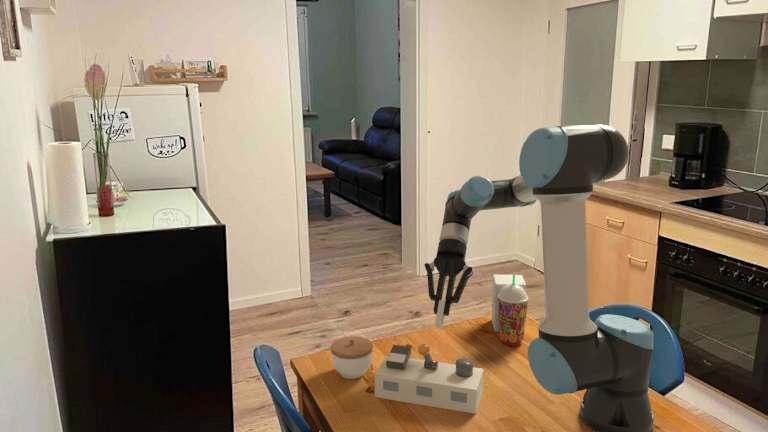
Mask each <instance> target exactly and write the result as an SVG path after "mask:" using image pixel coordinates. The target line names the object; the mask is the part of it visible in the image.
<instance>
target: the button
mask: <svg viewBox="0 0 768 432" xmlns="http://www.w3.org/2000/svg"><path fill="white" fill-rule="evenodd" d="M455 365H456V375H458V376H460V377H470V376H472V375H473V367H474V361H473V360H472V359H470V358H464V357H461V358H458V359H456V361H455Z"/></svg>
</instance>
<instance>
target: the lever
mask: <svg viewBox="0 0 768 432" xmlns="http://www.w3.org/2000/svg"><path fill="white" fill-rule="evenodd" d="M430 351H431V349H430V347H429V345H428V344H427V343H421V344H420V345H418V348H417V352H418V353H419V355H421V356H422V357H423V360H425V362H424V367H425V368H431V369H437V368H438V362H439V361H436V360H433V358H432V356H431V354H430Z"/></svg>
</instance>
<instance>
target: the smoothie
mask: <svg viewBox="0 0 768 432" xmlns="http://www.w3.org/2000/svg"><path fill="white" fill-rule="evenodd" d="M512 275H513V281H512V284H508V285H506V286H504V287H503V288H502V289H501V291H500V293H499V294H498V316H499V331H498V338H499V340H500V343H502V344H503V345H506V346H508V347H511V346H512V347H515V346H520V345H521V344H522V341H523V340H524V338H525V337H524V336H525V327H526V321H527V320H526V319H527V310H528V303H529V296H528V294H527V291H526V292H525V290H524V289H523V288H522V287H521V286H520V285H517V284H515V275H516V274H512Z"/></svg>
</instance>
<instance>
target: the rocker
mask: <svg viewBox="0 0 768 432" xmlns="http://www.w3.org/2000/svg"><path fill="white" fill-rule="evenodd" d="M411 354H412V346H405V345H401V344H400V345H399V344H393V345H392V348H391V350H390V351H389V354H388V355H389V356H388V358H387V360H386V367H389V368H395V369H402V370H404V369H405V367H406V364H407V362H408V360H409V358H410V357H411Z"/></svg>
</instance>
